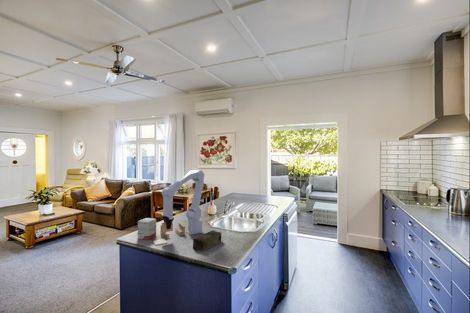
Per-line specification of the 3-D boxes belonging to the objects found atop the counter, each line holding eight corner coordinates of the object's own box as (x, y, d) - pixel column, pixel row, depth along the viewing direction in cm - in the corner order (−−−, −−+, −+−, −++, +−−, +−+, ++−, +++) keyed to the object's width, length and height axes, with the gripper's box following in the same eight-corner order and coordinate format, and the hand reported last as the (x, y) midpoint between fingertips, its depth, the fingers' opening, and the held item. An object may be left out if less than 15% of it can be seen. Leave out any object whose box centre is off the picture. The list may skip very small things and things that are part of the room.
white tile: (164, 239, 145) (164, 238, 145) (167, 243, 139) (167, 242, 139) (153, 241, 141) (153, 240, 141) (155, 245, 135) (155, 244, 135)
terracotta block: (171, 229, 145) (171, 221, 145) (172, 230, 141) (172, 223, 141) (161, 230, 142) (161, 222, 142) (163, 232, 138) (163, 224, 138)
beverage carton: (222, 241, 143) (222, 231, 143) (202, 252, 127) (202, 241, 127) (212, 239, 147) (212, 229, 147) (192, 249, 131) (192, 238, 131)
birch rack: (180, 230, 162) (180, 222, 162) (184, 235, 153) (184, 226, 153) (160, 233, 155) (160, 225, 155) (163, 238, 146) (164, 229, 146)
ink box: (156, 235, 151) (156, 218, 151) (148, 240, 143) (148, 221, 143) (145, 234, 154) (145, 217, 153) (137, 238, 145) (137, 220, 145)
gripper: (158, 204, 146) (158, 225, 146) (164, 209, 133) (164, 232, 133) (169, 203, 149) (169, 224, 149) (176, 208, 137) (175, 230, 137)
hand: (167, 227), depth 142 cm, fingers closed on terracotta block, 4 cm apart
